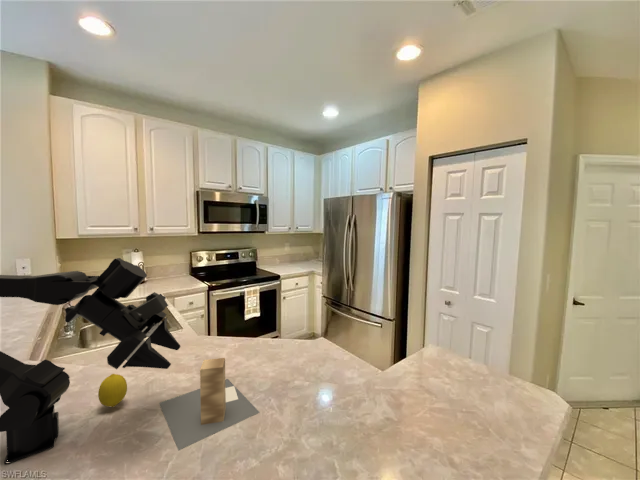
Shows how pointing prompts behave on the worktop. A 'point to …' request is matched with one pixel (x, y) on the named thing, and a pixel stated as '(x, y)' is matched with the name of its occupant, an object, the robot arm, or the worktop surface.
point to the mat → (187, 415)
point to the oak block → (212, 391)
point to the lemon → (112, 390)
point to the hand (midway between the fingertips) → (174, 356)
